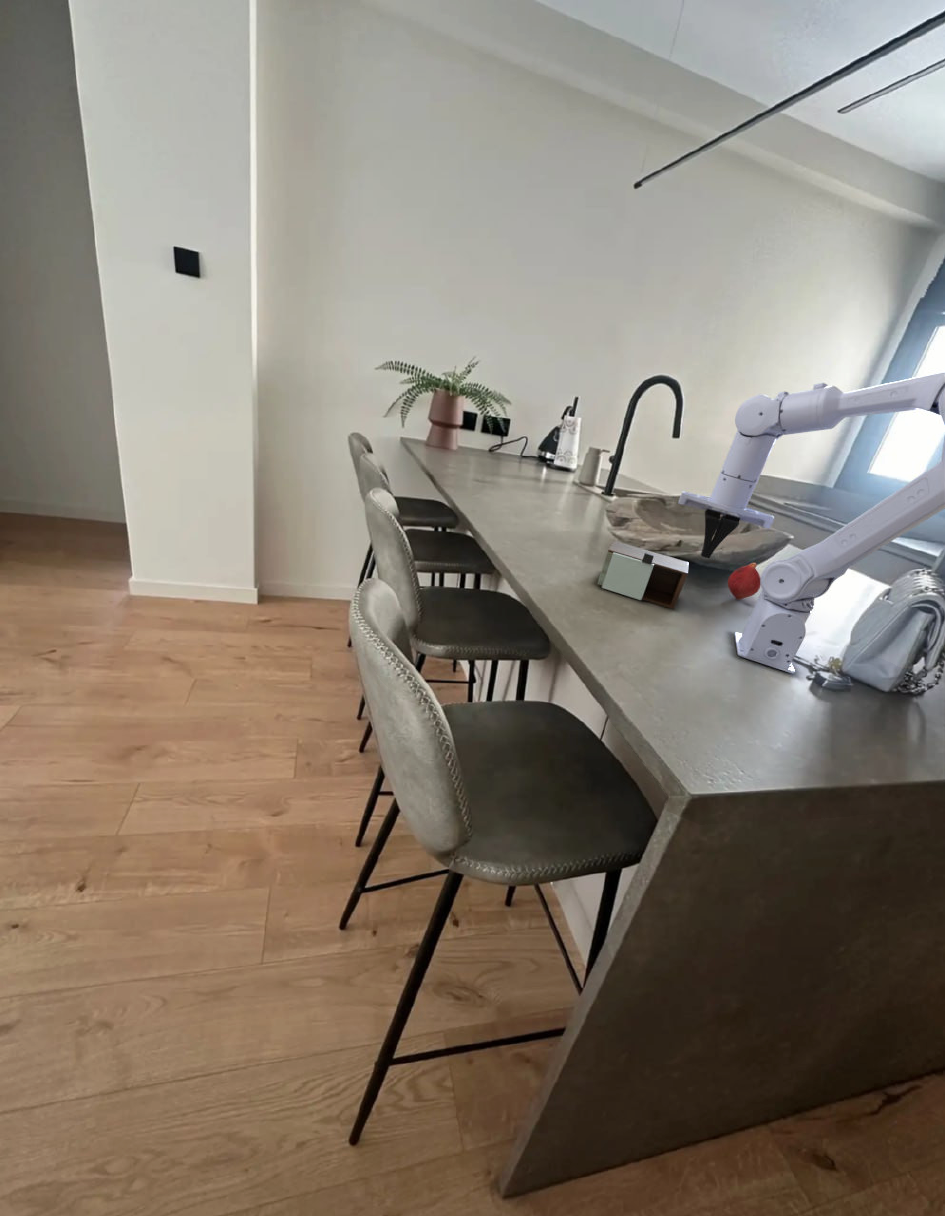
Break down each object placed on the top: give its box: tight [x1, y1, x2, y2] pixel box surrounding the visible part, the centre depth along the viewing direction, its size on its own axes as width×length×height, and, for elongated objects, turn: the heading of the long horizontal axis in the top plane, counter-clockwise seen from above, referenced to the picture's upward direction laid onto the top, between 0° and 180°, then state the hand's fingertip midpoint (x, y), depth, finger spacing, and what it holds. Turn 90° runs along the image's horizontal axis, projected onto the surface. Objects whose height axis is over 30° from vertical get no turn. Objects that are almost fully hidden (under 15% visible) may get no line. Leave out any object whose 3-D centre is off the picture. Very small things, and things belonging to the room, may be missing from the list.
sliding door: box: [601, 552, 654, 601], centre depth 93 cm, size 1×7×8 cm, turn 68°
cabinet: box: [596, 540, 689, 610], centre depth 97 cm, size 8×14×7 cm, turn 68°
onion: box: [727, 562, 761, 601], centre depth 105 cm, size 6×6×8 cm
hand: (705, 556), depth 90 cm, fingers closed
